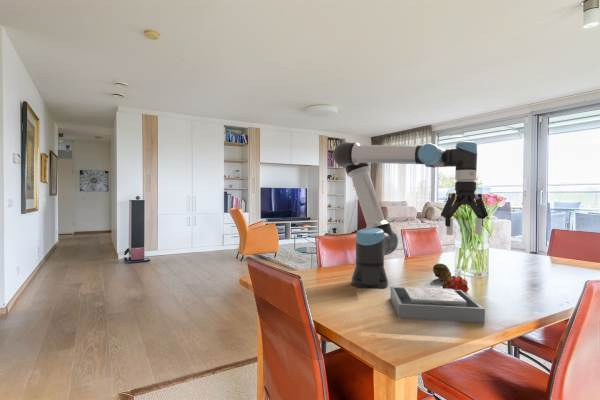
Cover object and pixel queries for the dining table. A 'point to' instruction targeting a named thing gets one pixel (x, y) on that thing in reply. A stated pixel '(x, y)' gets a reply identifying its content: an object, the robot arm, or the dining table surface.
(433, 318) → the tray
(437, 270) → the avocado
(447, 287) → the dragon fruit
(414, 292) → the metal tin
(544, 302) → the dining table surface
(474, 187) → the robot arm
